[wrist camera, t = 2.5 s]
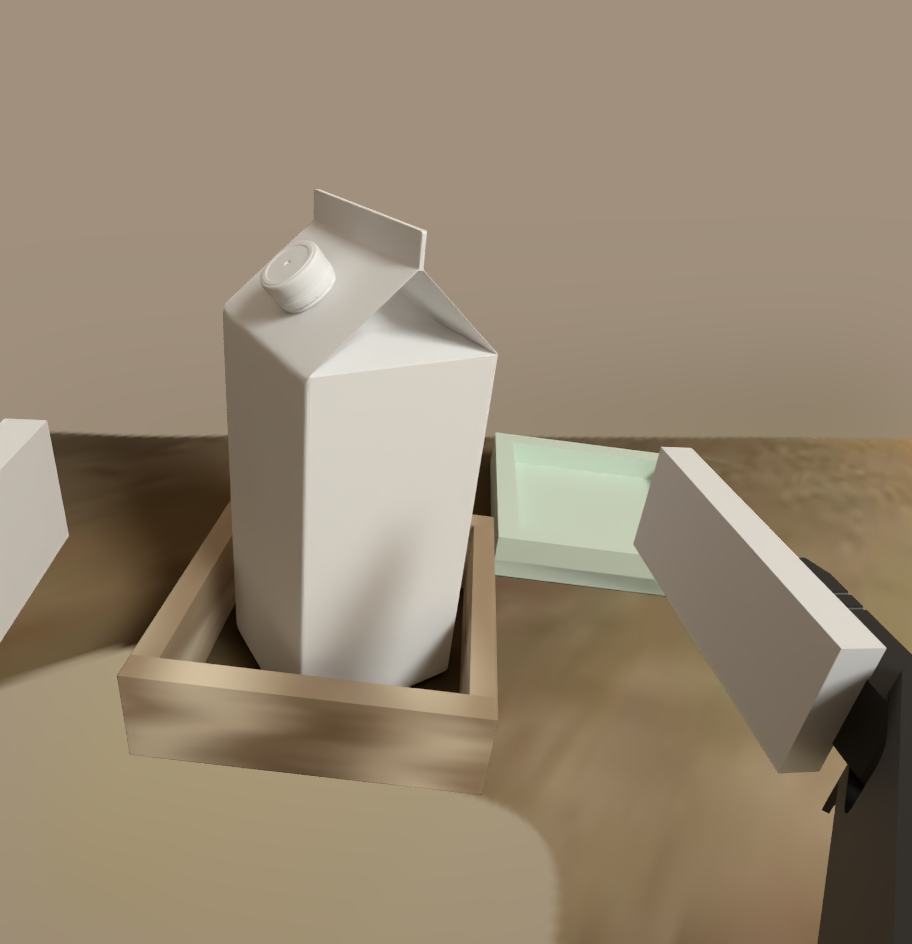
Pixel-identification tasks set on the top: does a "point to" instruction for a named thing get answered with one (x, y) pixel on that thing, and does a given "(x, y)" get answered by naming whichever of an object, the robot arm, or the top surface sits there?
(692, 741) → the top surface
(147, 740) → the holder
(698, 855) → the top surface
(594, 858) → the top surface
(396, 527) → the milk carton
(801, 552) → the top surface
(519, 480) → the tray
